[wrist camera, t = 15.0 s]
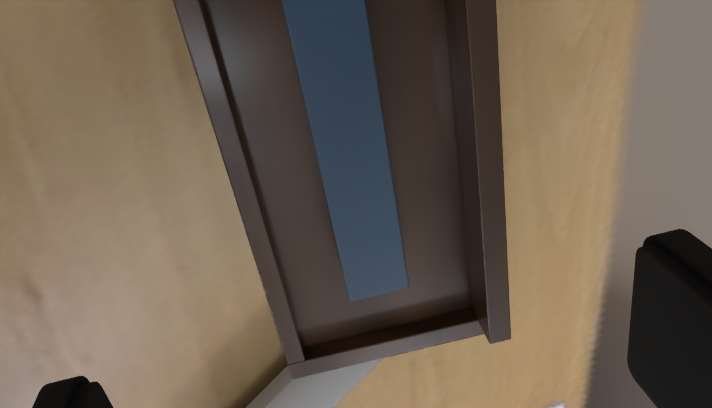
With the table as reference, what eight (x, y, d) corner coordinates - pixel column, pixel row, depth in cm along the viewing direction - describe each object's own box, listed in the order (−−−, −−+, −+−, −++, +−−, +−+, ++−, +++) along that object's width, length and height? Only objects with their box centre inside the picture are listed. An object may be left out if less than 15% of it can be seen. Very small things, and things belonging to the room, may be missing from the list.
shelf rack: (284, 268, 41) (294, 408, 30) (106, -356, 25) (-25, -576, 13) (443, 232, 42) (512, 355, 30) (374, -402, 25) (468, -650, 14)
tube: (398, 261, 37) (180, 480, 44) (457, 311, 38) (233, 520, 44) (399, 235, 43) (204, 435, 49) (451, 280, 43) (251, 471, 50)
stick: (341, 267, 30) (349, 302, 27) (223, -259, 19) (217, -284, 16) (397, 254, 30) (410, 288, 27) (310, -274, 19) (318, -302, 16)
